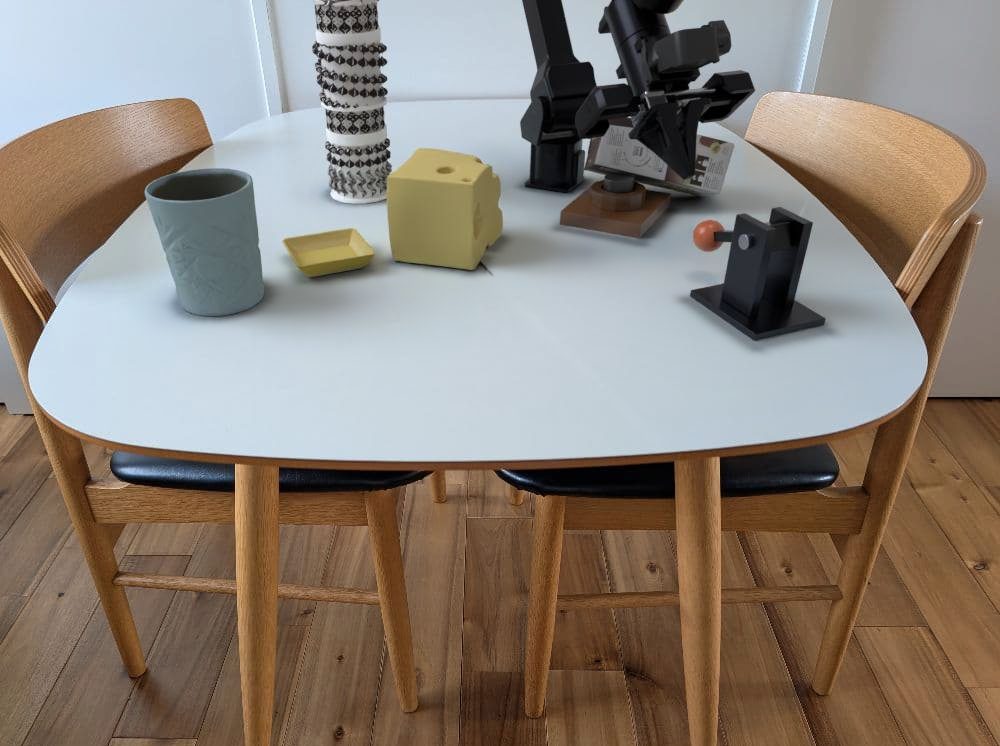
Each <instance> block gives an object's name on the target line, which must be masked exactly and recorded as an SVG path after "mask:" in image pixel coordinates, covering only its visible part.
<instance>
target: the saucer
mask: <svg viewBox="0 0 1000 746" xmlns="http://www.w3.org/2000/svg"><path fill="white" fill-rule="evenodd" d="M281 242H282V244H283V245H284V247H285V249H286V251H287V253H288V254H289V255H290V257H291V259H292V261H293V263H294V264H295V266H296V267H297V268H298V270H299V271H300V272H301V273H302V274H303V275H304V276H307V277H309V278H315V277H320V276H326V275H331V274H335V273H336V274H337V273H342V272H347V271H354V270H359V269H362V268H364V267H365V266H367V265H368V264H369V263H370V262H371V260H372V259H373V258H374V256H375V255H376V253H375V251H374V250H373V248H372V247H371V245H369V243H368V242H367V241H366V240H365V239H364V237H363V236H362V235H361V233H360V232H359V231H358V230H357V229H356V228H354V227H349V228H344V229H336V230H330V231H323V232H317V233H312V234H311V233H310V234H305V235H298V236H291V237H286V238H283V239H282V241H281Z"/></svg>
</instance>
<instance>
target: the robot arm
mask: <svg viewBox="0 0 1000 746" xmlns="http://www.w3.org/2000/svg"><path fill="white" fill-rule="evenodd" d="M684 1H685V0H610V2H609V3H608V5H605V6H604V8H603V13H602V17H601V18H600V20H599V22H598V29H597V32H598V34H599V35H604V34H610V35H611V38H612V41H613V44H614V47H615V50H616V53H617V56H618V59H619V63H620V64H619V65H618V66H617V68H616V70H615V73H616V76H617V79H618V80H621V79H622V80H623V79H625V80H626V82H625V83H614V84H604V85H597V82H596V77H595V70H594V66H593V64H592V63H591V62H590V61H580V60H579V59H578V58H577V57H576V56H575V54H574V50H573V46H572V45H573V44H572V40H571V36H570V31H569V27H568V22H567V18H566V14H565V13H566V12H565V10H564V5H563V0H521V2H522V6H523V9H524V15H525V20H526V25H527V28H528V33H529V37H530V42H531V48H532V52H533V56H534V60H535V66H536V73H535V76H534V80H533V82H532V85H531V88H530V92H529V96H530V104H529V105H528V107H527V109H526V110H525V112H524V114H523V115H522V117H521V119H520V121H519V126H520V134H521V135H520V136H521V139H523V140H525V141H526V142H529V143H530V155H529V157H530V158H529V159H530V160H529V179H527V180H526V181H524V187H526V188H533V189H540V190H547V191H550V192H551V191H552V192H557V193H566V194H567V193H570V192H571V191H572V190H573V189H575V188H576V187H577V186H579V185H580V184H581V183H582V182H583V181H584V180H585V176H584V175H585V170H584V168H585V164H586V151H585V149H583V140H591V138H595V137H603V136H604V135H605V134H606V132H607V130H608V129H609V127H610V125H609V122H608V119H616V118H624V117H629V118H631V119H632V121H633V122H632V123H633V126H634V128H633V129H632V130H631V131H630V133H629V134H628V136H629V138H630V139H636V140H638V141H639V142H641V143H642V144H643V145H644V146H646V147H647V148H648V149H650V150H651V151H652V152H654V153H655V154H656V155H657V156H658V157H659V158H660V159H662V160H663V161H664V162H665V163H666V164H667V165H668V166H669V167H670V168H671V169H672V170H673V171H674V172H676V173H677V174H678V175H679V176H680V177H681V178H682V179H683V180H687V179H691V178H692V177H693V176H694V175H695V164H696V138H697V134H698V128H699V122H700V123H701V124H709V123H716V122H722V121H724V120H726V119H728V118H730V117H731V116H732V115H733V113H735V112H736V111H737V110H738V109H739V108H740V107H741V106H742V105H743V104H744V103H745V102H746V101H747V100H748V99H749V98H750V97H751V96H752V95H753V94H754V93H755V92H756V88H755V85H754V83H753V79H752V78H751V74H750V72H748V71H745V70H741V69H740V70H730V71H721V72H714V73H713V74H712V75H711V77H710V78H708V80H707V81H706V82H704V84H703V85H702V87H700V88H692V89H691V88H690V84H691V83H692V82H696V80H698V78H699V77H700V76H701V72H700V69H701V68H703V67H705V66H708V65H710V64H713V65H714V64H717V63H719V62H720V61H721V58H720V57H722V56H724V55H726V54H728V53H730V52H731V48H732V36H731V32H730V30H729V27H728V26H727V24H726V22H725V20H724V19H719V20H710V21H709V22H708V23H707V24H702V25H701V26H700V27H692V28H683V29H679V30H676V31H674V32H671V29H670V27H669V24H668V21H667V18H666V15H668V14H671V13H674V12H675V11H677V10H678V9H679V7H680V6H681V5H682V3H683V2H684Z"/></svg>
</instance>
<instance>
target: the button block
mask: <svg viewBox="0 0 1000 746" xmlns="http://www.w3.org/2000/svg"><path fill="white" fill-rule="evenodd" d="M603 187H604V179H602V180H598V181H595V182H593V184H591V185H590V186H589V187H588V188H587V189H585V190H584V191H583V192H582V193H581V194H579V195H578V196H577V197H576V198H575V199H573V200H572V201H571V202H570V203H569V204H568V205H566V206H565V207H564V208H562V210H560V215H559V217H560V218H559V225H560V226H566V227H571V228H577V229H584V230H588V231H595V232H599V233H605V234H610V235H611V234H612V235H616V236H623V237H628V238H633V239H641V238H642V237H643V236H644V235H645V233H646V232H647V231H648V230H649V229H650V228H651V227H652V226H653V225H654V224H655V223H656V221H658V219H659V218H660V217H661V216H662V215H663V214H664V213H665V212H666V210H667V209H669V207H670V204H671V196H672V193H671V192H665V191H660V190H659V191H658V190H651V189H647V188H646V186H645V184H643V183H638V182H635V181H634V189H633V192H630V193H619V194H616V193H610V192H606V191H604V190H603Z"/></svg>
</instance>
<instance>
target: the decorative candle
mask: <svg viewBox="0 0 1000 746" xmlns="http://www.w3.org/2000/svg"><path fill="white" fill-rule="evenodd" d="M378 3H380V0H313V1H312V2H311V4H313V5H314V15H315V22H316V29H315V41H314V43H313V44H312V46H311V50H312V51H311V52H312V53H313V54H314V55H315V56H316V57H317V58H318V59H317V60H316V62H315V63H314V67H315V71H316V72H317V73H318V74H317V76H316V83H317V85H319V86H320V88H321V91H320V92H319V95H318V96H319V100H320V106H321V107H322V108H323V109H324V110H325V120H326V127H325V135H326V141H325V145H324V147H325V149H326V150H327V151H328V153H326V161H327V162H329V163H330V164H329V165H328V167H327V175H328V176H329V181H328V186H329V187H330V188H331V190H330V197H331V198H332V199H333V200H335V201H337V202H340V203H345V204H353V205H355V204H359V205H360V204H371V203H376V202H380V201H383V200H387V177H388V175H390V174H391V173H392V172H393V169H392V167H393V165H392V164H391V163H390V162H389V161H388V160H389V159H391V150H389V149H388V148H389V147H390V145H391V140H390V138H388V127H387V124H386V121H385V116H386V115H385V110H384V109H385V107H384V106H386V105H387V103H388V98H387V97H386V95H388V93H389V92H388V91H389V90H388V89H387V88H386V87H384V86H383V85H384V84H385V83H386V82H387V81H388V77H387V75H385V74H384V73H383V72H382V71H381V70H382V69H381V67H382V68H384V66H386V65H387V64H388V60H387V59H386V58H385V57H384V56H383V55H381V54H383V53H385V52H387V50H388V47H387V46H386V44H384V43H383V42H382V41H381V40H382V31H381V26H379V12H378Z"/></svg>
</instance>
